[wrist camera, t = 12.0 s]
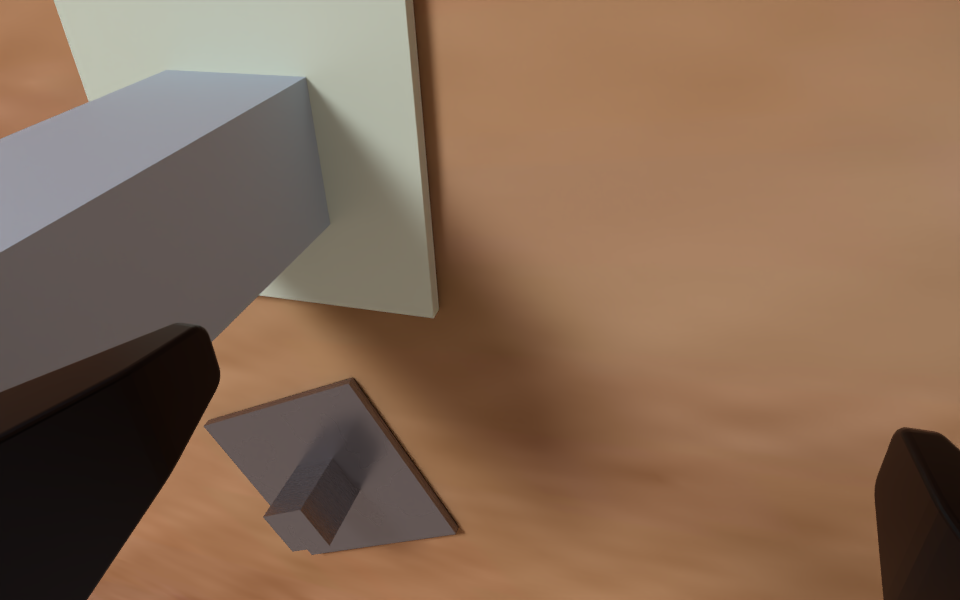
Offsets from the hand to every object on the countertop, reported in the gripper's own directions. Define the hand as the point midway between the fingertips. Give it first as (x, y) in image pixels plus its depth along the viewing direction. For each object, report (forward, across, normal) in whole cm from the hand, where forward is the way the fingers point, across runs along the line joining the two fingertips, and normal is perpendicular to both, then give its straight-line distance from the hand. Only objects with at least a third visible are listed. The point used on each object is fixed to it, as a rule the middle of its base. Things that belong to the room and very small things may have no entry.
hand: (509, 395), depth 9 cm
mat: (+13, +12, +2) cm, 18 cm away
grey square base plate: (+13, +12, +18) cm, 25 cm away
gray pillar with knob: (+12, +12, +2) cm, 17 cm away
